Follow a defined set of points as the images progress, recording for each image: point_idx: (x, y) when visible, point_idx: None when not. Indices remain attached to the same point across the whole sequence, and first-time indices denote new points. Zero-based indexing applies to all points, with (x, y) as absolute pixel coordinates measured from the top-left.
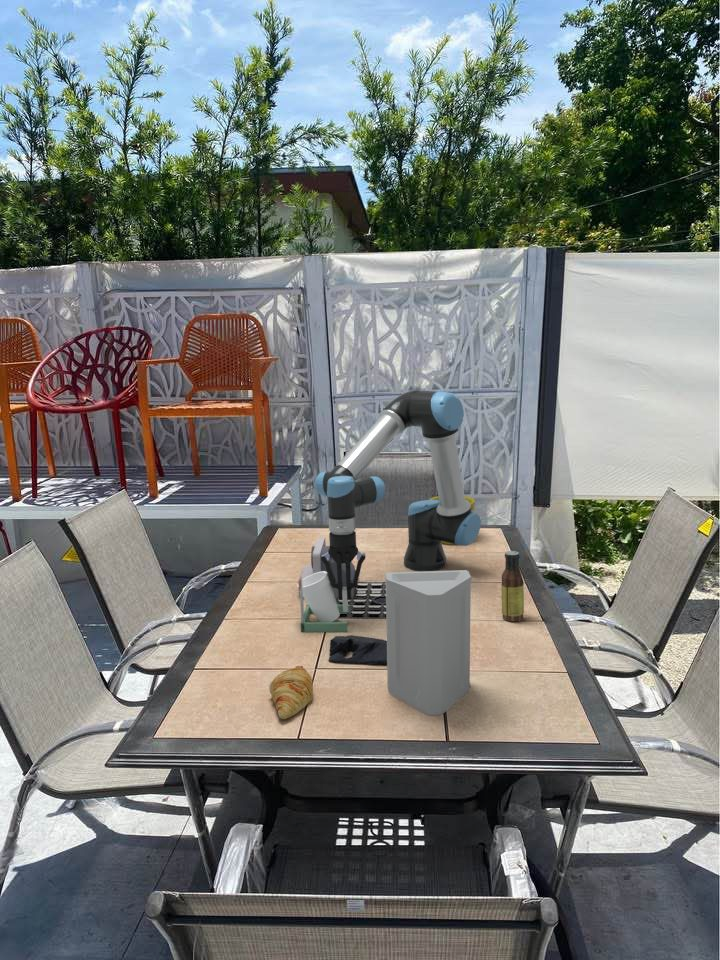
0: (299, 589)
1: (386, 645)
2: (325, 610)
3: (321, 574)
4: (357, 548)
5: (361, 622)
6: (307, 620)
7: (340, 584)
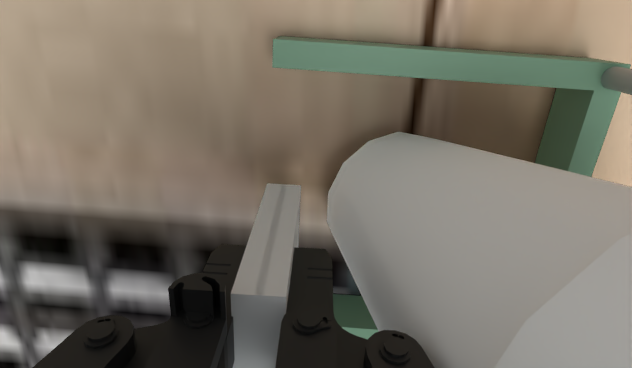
0: None
1: None
2: (447, 153)
3: None
4: None
5: (198, 172)
6: None
7: (299, 362)
